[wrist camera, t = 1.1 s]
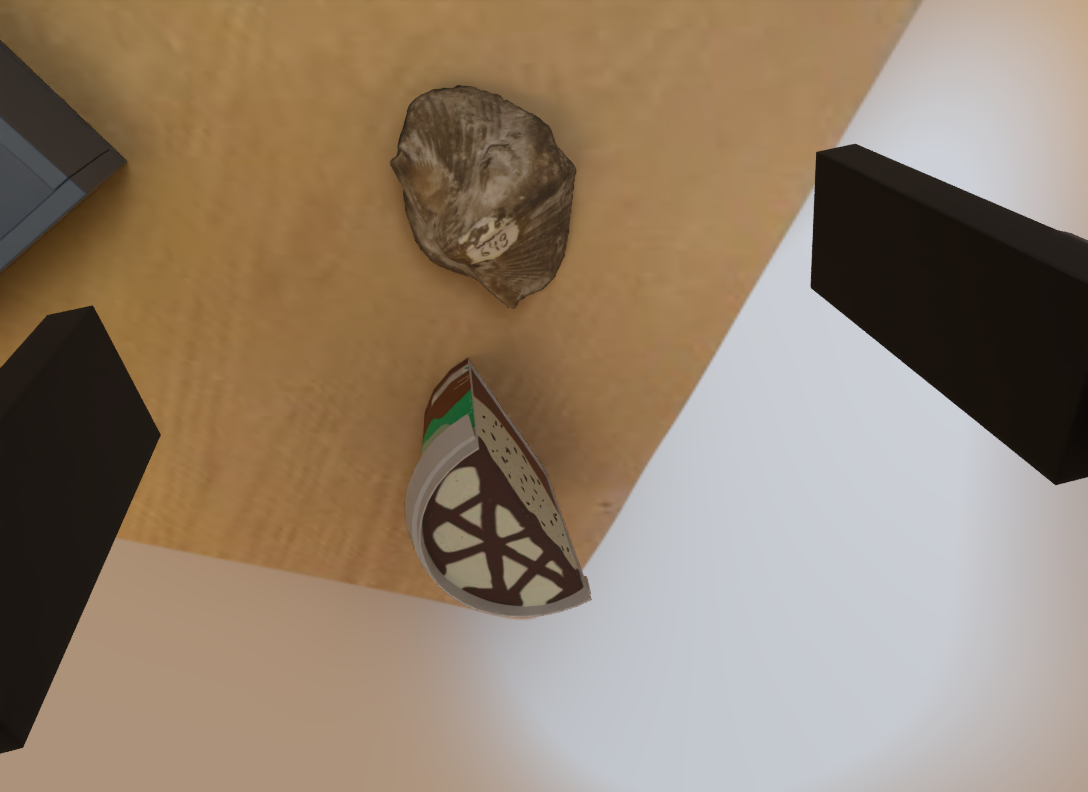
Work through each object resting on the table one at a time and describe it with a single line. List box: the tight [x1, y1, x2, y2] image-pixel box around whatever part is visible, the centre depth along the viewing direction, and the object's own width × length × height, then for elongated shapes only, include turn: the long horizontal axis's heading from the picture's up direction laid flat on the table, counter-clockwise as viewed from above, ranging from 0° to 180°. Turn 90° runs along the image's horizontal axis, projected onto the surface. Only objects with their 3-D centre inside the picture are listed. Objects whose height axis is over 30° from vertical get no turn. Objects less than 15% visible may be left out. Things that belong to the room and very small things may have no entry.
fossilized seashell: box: [390, 85, 576, 309], centre depth 35 cm, size 8×7×10 cm
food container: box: [405, 358, 592, 617], centre depth 40 cm, size 12×6×10 cm, turn 28°
